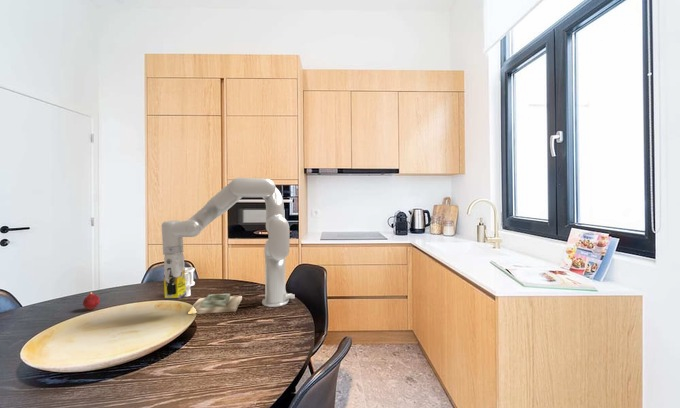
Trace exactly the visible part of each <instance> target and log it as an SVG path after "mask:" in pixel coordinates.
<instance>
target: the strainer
mask: <svg viewBox="0 0 680 408" xmlns="http://www.w3.org/2000/svg"><path fill="white" fill-rule="evenodd" d="M194 272H195V267H186V266H185V284H186V295H185V296H184V297H186V298H187V297H190V296H191V295H192V294H191V287H192V286H195V284H196V282H195V281H194Z"/></svg>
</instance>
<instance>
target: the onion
mask: <svg viewBox="0 0 680 408" xmlns="http://www.w3.org/2000/svg"><path fill="white" fill-rule="evenodd" d="M100 303H101V299H100V297H99V296H98V295H97V294H95V293H93V292H92V291H91V292H89V294H88V295H87V296H86V297H85V298H84V299H83V301H82V306H83V307H84V308H86V310H89V311H93V310H94V309H95V308H97V307H98V306H99V304H100Z"/></svg>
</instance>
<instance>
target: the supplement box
mask: <svg viewBox="0 0 680 408" xmlns="http://www.w3.org/2000/svg"><path fill="white" fill-rule="evenodd" d="M185 271H186V270H183V271H182V272H181V276H179V277H178V278H176V277H175V284H176V294H172V295H168V294H167V285H166V281H165V275H164V274H163V286H164V287H163V289H164V290H163V291H164V300H165V301H173V300H175V301H176V300H180V299H182V298H183V297H185V295H186V284H185ZM170 277H173V276H170ZM170 280H172V282H173V279H170Z"/></svg>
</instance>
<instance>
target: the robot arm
mask: <svg viewBox="0 0 680 408" xmlns="http://www.w3.org/2000/svg"><path fill="white" fill-rule="evenodd" d="M242 198H262V199H263V201H264V203H265V211H266V212H265V230H266V231H267V232H268V237H267V238H268V240H267V241H266V242H265V244H264V249H263V250H264V263H265V266H264V267H265V268H264V275H265V276H264V279H265V280H264V281H265V283H264V284H265V289H264V291H265V293H264V294H265V298H263V299H262V301H261V304H262V306H264V307H269V308H276V307H283V306H285V305H287V304H288V303H289V301H290V300H289V299H295V298H296V297H295V293H294V294H293V293H288V292H287V290H286V258H287V257H288V255H289V252H290V244H291V243H290V236H291V235H290V234H291V233H290V225H289V221H288V220H287V219H286V218H285V205H284V203H285V201H284V197H283V195H282V193H281V191H280V189H278V188H277V187H276V184H275V182H274V181H273V180H272V179H270V178H261V177H260V178H259V177H258V178H257V177H255V178H253V177H252V178H251V177H237V178H233V179H232V180H231V181H230V182H229V183H228V184H227V185H225V186H224V187H223V188H222V189H221V190H219V192H217V193H216V194H215V195H214V196H212V197H211V198H210V199H209V200H208V201H207V203H206V204H205V205H204V206H202V207H201V208H200V209H199V210H198V211H197V212H196V213H195V214H193V215H191V217H189V218H188V219H187V220H182V221H180V220H167V221H163V222H162V223H161V239H162V241H161V243H162V254H163V255H164V259H163V261H164V262H163V263H164V264H163V271H164V272H163V273H164V274H163V276H164V275H165V281H166V285H167V294H168V295H172V294H176V284H175V277H176V278H178V277H179V276H181V272H182V271H183V270H185V267H186V266H185V256H184V238H194V237H195V238H196V237H197V236H199V235H200V233H201V232H202V231H203V230H204V229H205V228H206V227H208V226H209V225H210V224H211V223H212V222H214V220H216V219H217V218H219V217H221V216H222V215H224V214H225V213H226V212H228V210H229V209H231V208H232V207H233V206H234V205H235V204H237V203H238V202H239V201H240V200H241V199H242ZM185 271H186V270H185ZM170 276H173V277H170ZM170 279H173V282H172V280H170Z"/></svg>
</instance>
